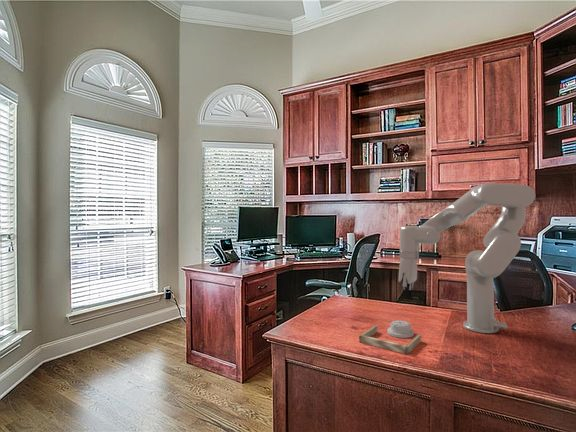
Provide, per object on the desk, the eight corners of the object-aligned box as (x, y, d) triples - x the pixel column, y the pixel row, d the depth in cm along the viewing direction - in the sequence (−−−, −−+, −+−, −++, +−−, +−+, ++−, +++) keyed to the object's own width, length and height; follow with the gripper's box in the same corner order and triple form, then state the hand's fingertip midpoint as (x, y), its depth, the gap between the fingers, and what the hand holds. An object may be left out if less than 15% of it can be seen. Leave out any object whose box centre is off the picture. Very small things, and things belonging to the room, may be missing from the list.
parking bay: (421, 341, 126) (420, 334, 125) (407, 354, 115) (407, 347, 115) (375, 331, 137) (375, 325, 137) (359, 342, 126) (359, 335, 126)
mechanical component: (388, 338, 130) (415, 339, 128) (388, 326, 130) (415, 328, 128) (386, 328, 140) (411, 330, 138) (386, 318, 140) (411, 319, 138)
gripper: (406, 252, 151) (405, 294, 151) (393, 256, 139) (392, 301, 139) (423, 254, 146) (422, 296, 146) (412, 258, 134) (411, 304, 135)
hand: (408, 298), depth 143 cm, fingers closed
